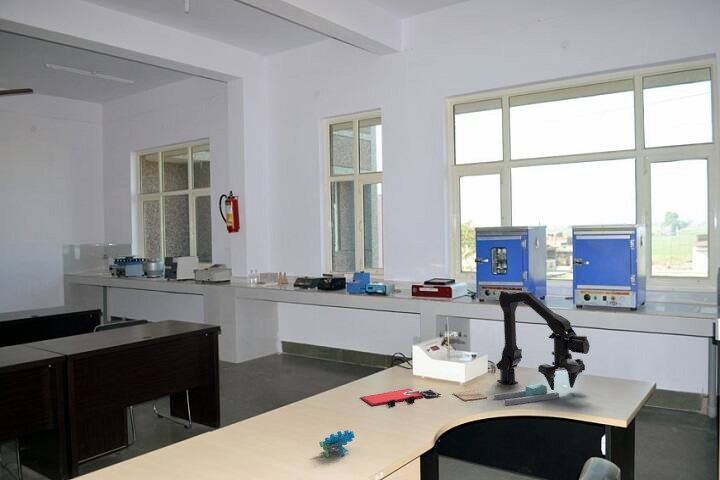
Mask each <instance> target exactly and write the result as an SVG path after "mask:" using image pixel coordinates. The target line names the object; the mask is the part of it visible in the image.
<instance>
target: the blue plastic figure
mask: <svg viewBox="0 0 720 480" xmlns="http://www.w3.org/2000/svg"><path fill="white" fill-rule="evenodd" d="M336 433H337V434H334V433H331V434H329V437H325V438H324V440H323V441H319V447H320V448H322V449H323V451H324V452H325V454H326V458H329V457H330V453H329V450H330V449H331V450H332V449H335V448H336V449H339V451H340V456H342V457H343V456H345V450H344V448H343V446H346V445H348V442H352V441H353V439H354V438H355V433H354V431H353V430H352V431H349V429H347V430H344V431H343V433H342V431H341V430H340V431H337V432H336Z"/></svg>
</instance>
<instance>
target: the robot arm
mask: <svg viewBox="0 0 720 480" xmlns="http://www.w3.org/2000/svg"><path fill="white" fill-rule="evenodd" d="M498 300H499V306H500V308H501V310H502V312H503V327H504V328H503V329H504V347H503V349H502V353H501V358H500V360H499V361H497V363H496V364H495V365H496V369H498V371H499V375H500V377H499V378H500V379H497V380H496V381H497V382H499V383H500V384H502V385H505V386H507V385H514V384H518V383H519V382H518V381H517V380H516V372H515V368H517V367H518V364H519V363H520V362H521V361H522V359H523V356H522V355H523V354H522V351H523V350H522V348H519V347H518V346H517V330H516V329H517V328H516V310H517V307H518V305H519V304H518V303H521V302H524V303H525V304H526V305H527V306H528V307H529V308H531V309H532V310H533V311H534V312H535V313H536V314H537V315H539V316H540V317H541V318H542V319H543V320H544V321H545V323H546V324H547V326H548V328H549V329H550V330H551V331H552V332H551V334H550V335H549V336H548V339H550V340H551V339H552V340H553V351H551V355H552V356H553V361H552V362H551V365H550V364H548V363H547V364H546V363H545V364H540V365H538V366H537V367H538V369H537V370H538V373H540V374H542V375H543V377H545V379H546V381H547V383H548V385H549V388H550V390H551V391H555V377H556V376H557V374H556V371H563V370H565V371H566V372H567V377H568V382H569V383H568V385H569V387H570V388H571V389H573V388H574V385H575V383H576V380H577V377H578V375H580V374H582V373H583V372H584V371H586V365H585V364H584V361H583V359H582V358H577V359H575V358H574V359H573V355H572V353H576V354H583V355H588V353H589V351H590V341H589V339H588V337H587V336H586V335H577V333H576V331H575V330H574V329H573V327H572V325H571V322H570V321H569V319H567V318H565V317H563V316H562V315H560V314H558V313H556V312H554V311H552V310H551V309H550V308H549V307H548V306H546V305H545V304H544V303H543V302H542V301H541V300H540V299H539V298H538V297H536V296H535V295H534V294H533V292H531V291H530V290H529V291H521V292H520V291H519V292H516V291H514V290H508V291H503V292H501V293H500V295H499V296H498ZM570 352H571V353H570Z"/></svg>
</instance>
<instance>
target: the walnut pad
mask: <svg viewBox="0 0 720 480" xmlns="http://www.w3.org/2000/svg"><path fill="white" fill-rule="evenodd" d="M452 395H453V396H455V397H456V398H458V399H460V400H462V401H464V402H472V401H478V400H486V399H488V396H486V395H484V394H482V393H480V392H478V391H476V390H475V389H474V390H472V389H471V390H465V391H457V392H452Z"/></svg>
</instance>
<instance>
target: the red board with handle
mask: <svg viewBox="0 0 720 480" xmlns="http://www.w3.org/2000/svg"><path fill="white" fill-rule="evenodd" d="M441 395H442V394H441V393H439V392H437V391H434V390H433V389H428V390H421V391H420V390H418V389H415V390H413V389H411V388H405V389H399V390H396V391H395V390H394V391H389V392H383V393H377V394H370V395H365V396H361V397H360V399H361V400H362V401H363V402H365V403H366V404H368V405H369V406H371V407H379V406H383V405H389V407H390V408H391V407H393V408H394V407H396V403H402V402H406V401H408V403H409V404H415V400H419V399H423V398H424V397H426V398H432V397H437V396H441Z"/></svg>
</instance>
